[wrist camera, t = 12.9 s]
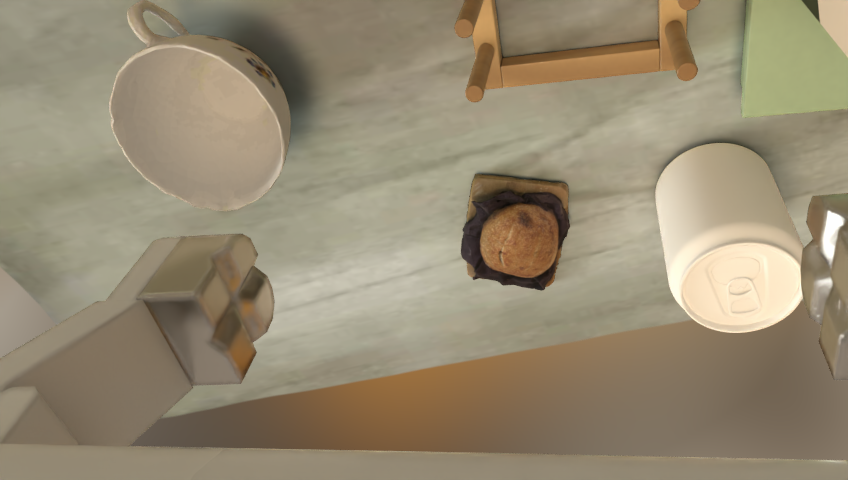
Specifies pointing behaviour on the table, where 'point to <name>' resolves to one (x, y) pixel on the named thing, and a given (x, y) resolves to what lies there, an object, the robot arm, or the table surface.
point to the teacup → (199, 116)
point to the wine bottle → (832, 19)
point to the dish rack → (573, 52)
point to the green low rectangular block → (789, 62)
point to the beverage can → (728, 239)
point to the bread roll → (515, 230)
